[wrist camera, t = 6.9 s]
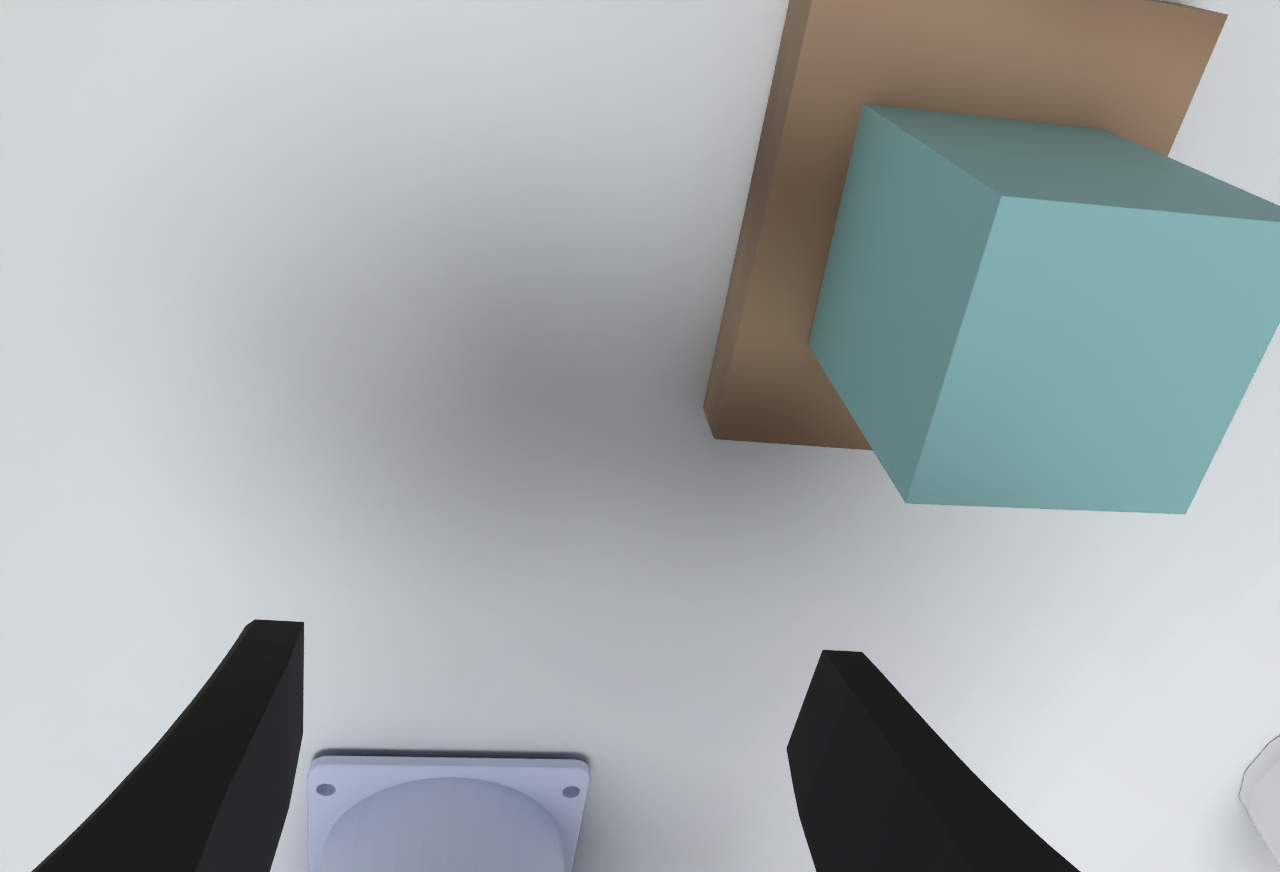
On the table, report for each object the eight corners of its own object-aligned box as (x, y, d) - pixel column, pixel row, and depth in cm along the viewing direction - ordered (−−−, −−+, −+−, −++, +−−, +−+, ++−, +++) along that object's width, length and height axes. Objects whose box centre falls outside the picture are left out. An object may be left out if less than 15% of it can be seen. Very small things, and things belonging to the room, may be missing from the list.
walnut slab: (1000, 420, 25) (1036, 461, 23) (699, 396, 23) (714, 438, 21) (1165, 0, 20) (1228, 14, 18) (794, -64, 18) (824, -54, 16)
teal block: (1023, 359, 21) (1185, 514, 16) (807, 344, 20) (905, 502, 15) (1104, 129, 19) (1326, 226, 14) (862, 103, 18) (1002, 195, 13)
